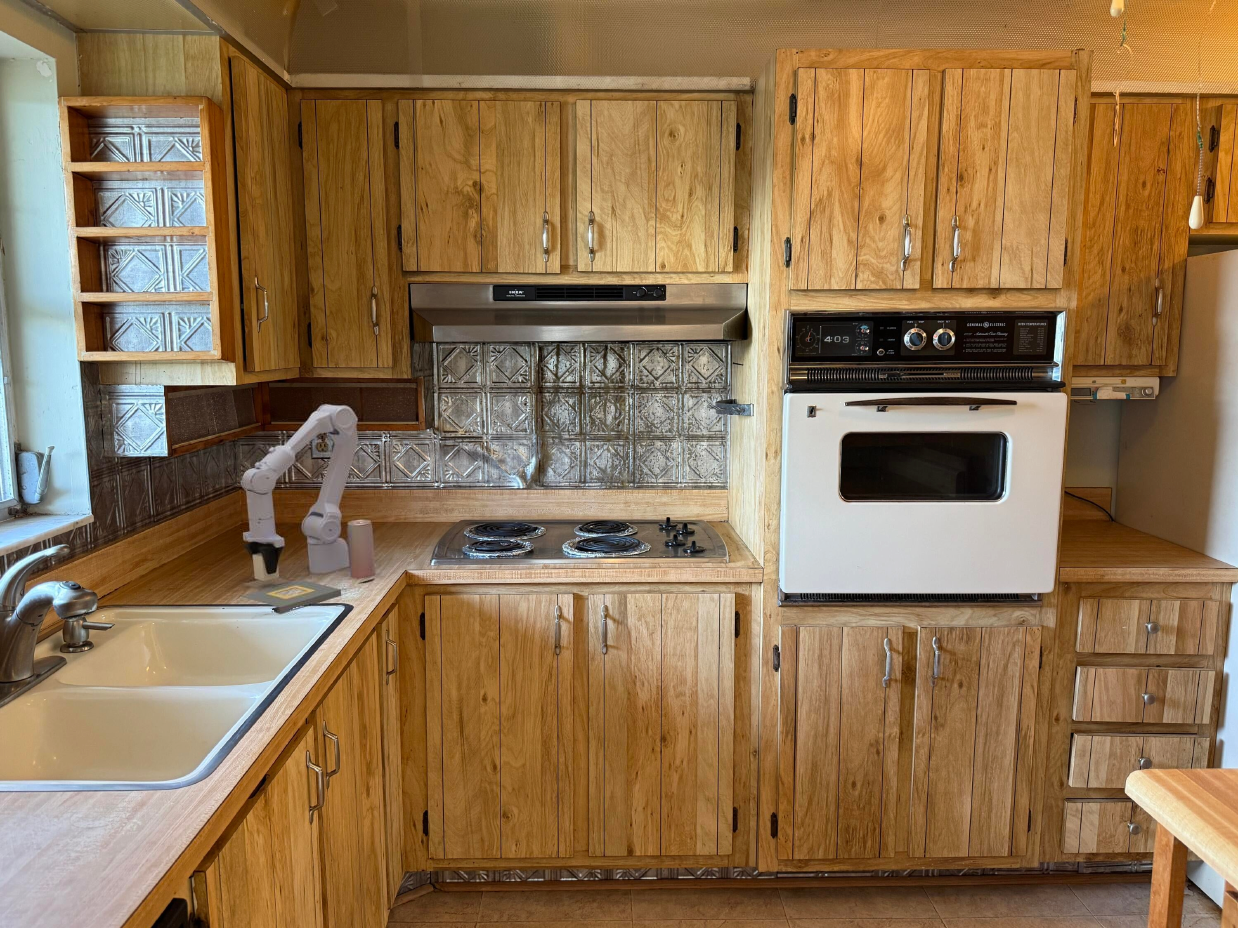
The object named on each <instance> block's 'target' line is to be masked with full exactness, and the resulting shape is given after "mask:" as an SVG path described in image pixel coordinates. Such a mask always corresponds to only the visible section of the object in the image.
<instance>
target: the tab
mask: <svg viewBox="0 0 1238 928" xmlns="http://www.w3.org/2000/svg"><path fill="white" fill-rule="evenodd" d="M290 582H291V580H289V579H284V578H281V577H277V578H273V579H270V580H266V581H262V580H258V579H255V580H252V581H250V582H246V583H243V585H244V586H248V587H252V588H255V589H259V590H264V589H268V588H272V587H275V586H279V585H283V584H286V583H290Z"/></svg>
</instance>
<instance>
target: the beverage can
mask: <svg viewBox="0 0 1238 928" xmlns="http://www.w3.org/2000/svg"><path fill="white" fill-rule="evenodd" d="M346 531H347V546H348V555H349V572H350V573H349V575H350V578H351V579H367V578H371V577H374V576H375V575H376V563H375V550H374V534H373V525H372V521H371V520H370V519H357V520H351V521H348V522H347V527H346ZM374 580H376V579H375V578H371V579H368V580H364V581H361V582H358V584H360V585H361V584H367V583H371V582H374Z"/></svg>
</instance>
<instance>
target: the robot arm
mask: <svg viewBox="0 0 1238 928" xmlns="http://www.w3.org/2000/svg"><path fill="white" fill-rule="evenodd" d="M358 421H359V420H358V417H357V415H356V414H355V411H353V409H352V408H351V407H350V406H348V405H335V404H333V405H332V404H327V403H325V404H321V405H320V406H319V407H318V408H317V409H316V410H315V411H314V412H312V413H311V414H310V416H309V417H308V419H307V420H306V421H305V422H304V423H303V424H302V426H300V428H299V429H298V430H297V431H296V432H295V433H294V434H293V436H292V437H291V438H289V439H288V440H287V442H286V443H285V444H284V445H276V446H275V447H273V446H271V447H270V448H269V449H268V454H266V456H264V458H262V459H261V460H260V461H257V462H255V464H254V467H253V468H249V469H248V470H246V471H245V472H244V474H243V476H242V477H241V478H242V479H241V480H240V485H241V487H242V489H244V490H245V492H246V494H245V495H246V505H247V515H248V523H249V526H248V527H249V531H245V532H242V538H243V541H245V542H249V543H246V544H244V549H245V550H246V551H247V552H248V555H249V556H250V558H251V560H252V561H253V555H254V554H258V553H261V554H262V556H263V559H264V563H265V568H266V572H267V574H273V573H276V571H277V566H278V567H279V559H280V557H281V554H282V551H283V549H284V548H285V538H284V537H281V536H280V535H278V534H277V533H276V523H275V511H274V501H273V493H272V492H273V490H274V489H275V487H276V482H277V480H278V479H279V478H280V477H281V476H282V475H283V474H284V473H285V472H286V471H287V470H288V469H289V468H290V467H291V466H292V465H293V464H295V461H296V454H297V453H299V452H300V451H301V450H302V449H303V448H304V447H305V446H306V445H308V444H309V443H310V442H311V441H312V440H313V439H315V437H316V436H318V435H321V434H324V433H325V434H326V433H327V435H329V436H330V438H331V439H332V440H331V441H332V442H333V443H334V446H333V449H332V451H331V456H330V458H329V462H328V466H327V469H326V471H325V475H324V478H323V482H322V485H321V488H320V492H319V495H318V498H317V501H316V502H315V503H314V504H313V505H311V507H310V508H309V511H308V513H307V515H306V516H305V517H303V518H304V519H303V520H302V522H301V531H302V533H303V534H304V536H306V538H307V539H306V540H307V552H308V553H307V554H308V563H309V564H308V567H309V573H311V574H327V573H328V574H329V573H332V572H336V571H339V570H342V569H345V568H350V561H349V547H348V543H347V542H346V540H345V539H344V538H342V537H340V535H341V532H342V526H341V520H342V517H343V516H342V513H341V510H340V503H341V500H342V496H343V495H344V494H343V493H344V490H345V487H346V484H347V479H348V477H349V475H350V470H351V467H352V463H353V461H354V458H355V454H356V451H357V447H358V445H359V444H358V443H359V436H358V429H357V423H358Z"/></svg>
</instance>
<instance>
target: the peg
mask: <svg viewBox="0 0 1238 928" xmlns="http://www.w3.org/2000/svg"><path fill="white" fill-rule="evenodd" d="M252 562H253V573H254V579H255V580H262V581H266V580H270V579H273V578H280V574H279V573H280V572H279V565H278V566H277V571H276V573H273V574H267V572H266V568H265V563H264V559H263V556H262V554H261V553H258V554H254V555H253V560H252Z"/></svg>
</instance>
